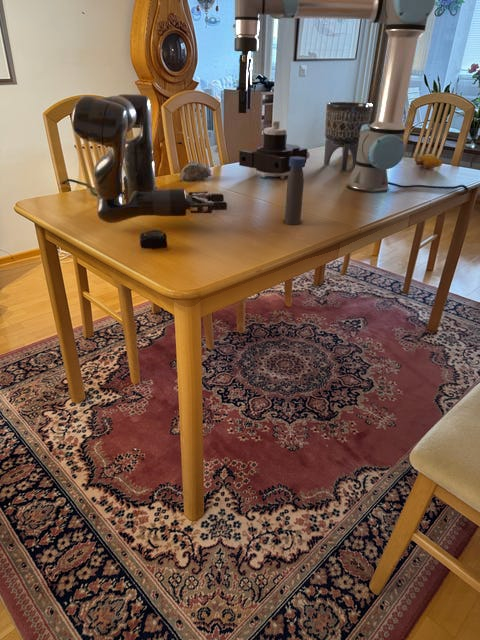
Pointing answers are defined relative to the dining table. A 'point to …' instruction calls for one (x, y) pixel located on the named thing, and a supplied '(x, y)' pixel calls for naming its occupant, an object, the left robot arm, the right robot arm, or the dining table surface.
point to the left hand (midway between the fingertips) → (225, 201)
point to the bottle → (294, 196)
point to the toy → (428, 161)
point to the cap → (297, 162)
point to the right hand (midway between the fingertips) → (244, 111)
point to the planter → (344, 129)
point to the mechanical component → (272, 153)
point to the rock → (195, 172)
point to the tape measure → (153, 239)
